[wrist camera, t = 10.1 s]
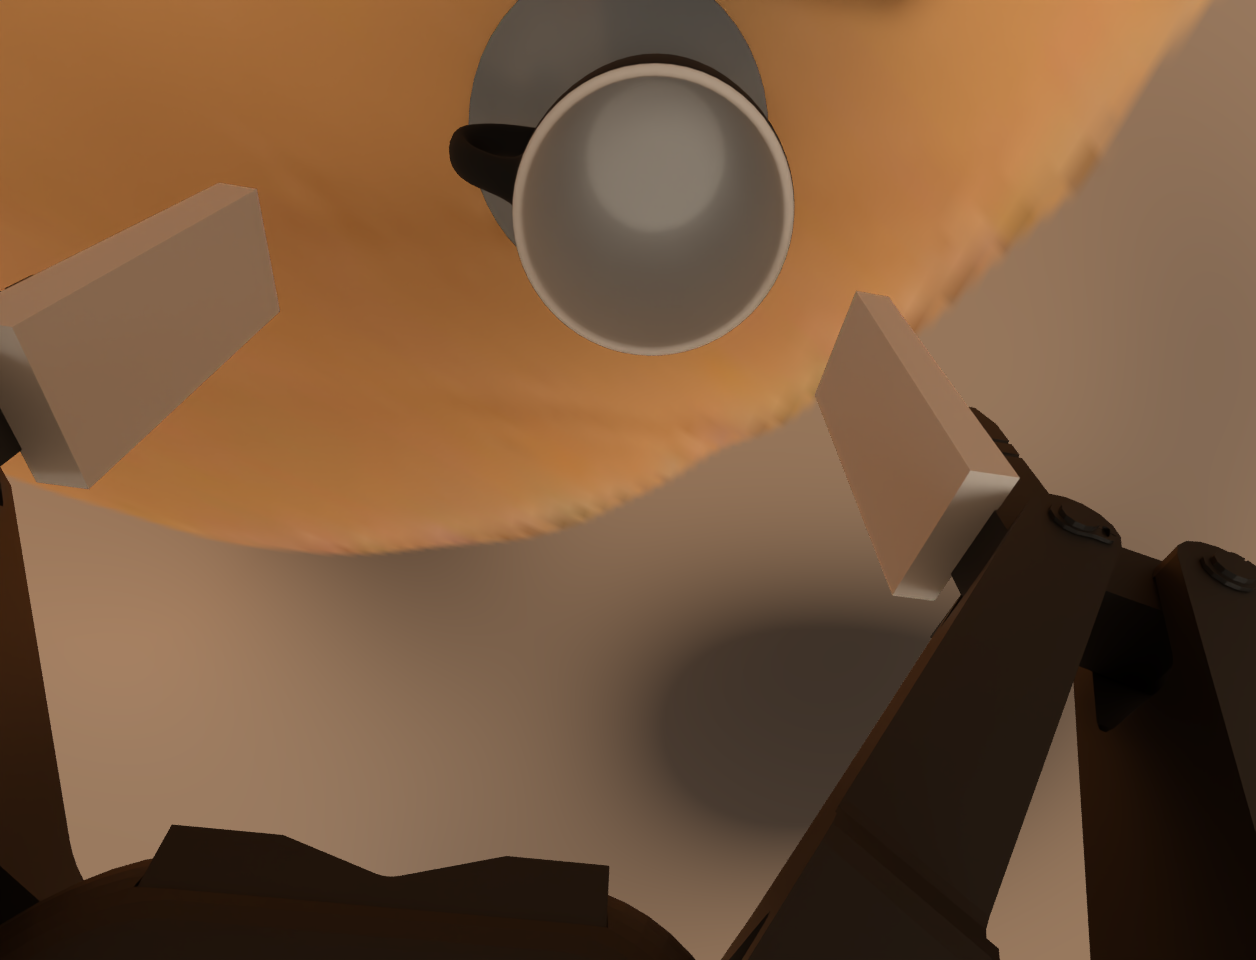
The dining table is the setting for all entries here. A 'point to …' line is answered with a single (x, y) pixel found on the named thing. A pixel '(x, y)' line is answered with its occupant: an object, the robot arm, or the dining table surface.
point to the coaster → (594, 56)
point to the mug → (642, 202)
